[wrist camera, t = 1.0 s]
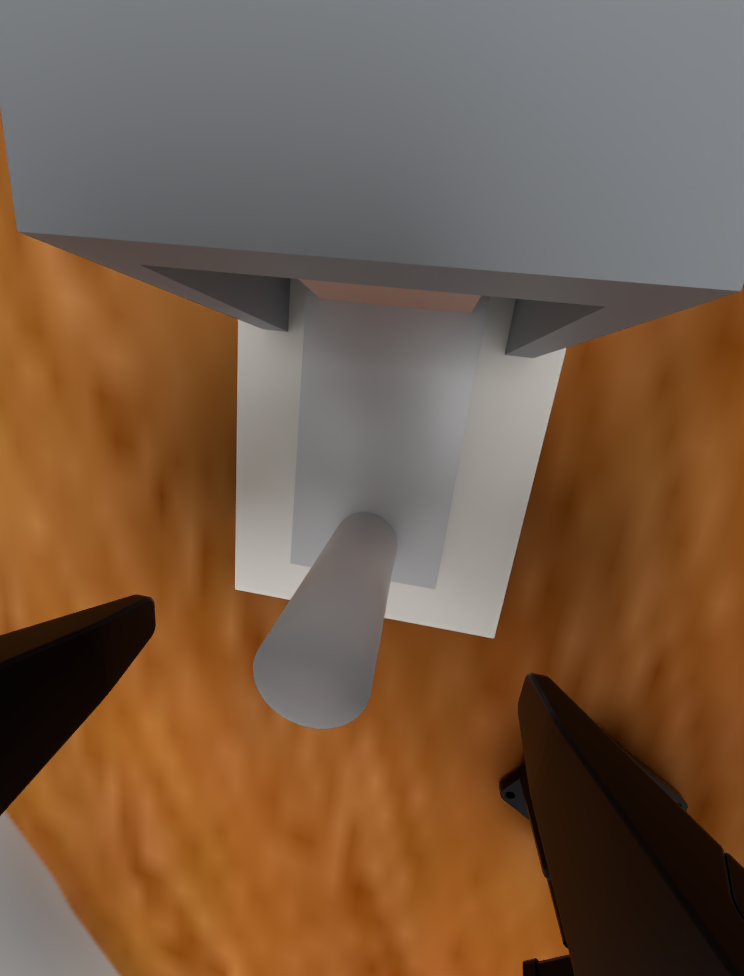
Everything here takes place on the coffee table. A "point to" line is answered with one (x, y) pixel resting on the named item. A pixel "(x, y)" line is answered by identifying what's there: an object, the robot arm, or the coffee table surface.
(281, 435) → the board
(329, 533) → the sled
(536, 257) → the tunnel
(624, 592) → the coffee table surface
